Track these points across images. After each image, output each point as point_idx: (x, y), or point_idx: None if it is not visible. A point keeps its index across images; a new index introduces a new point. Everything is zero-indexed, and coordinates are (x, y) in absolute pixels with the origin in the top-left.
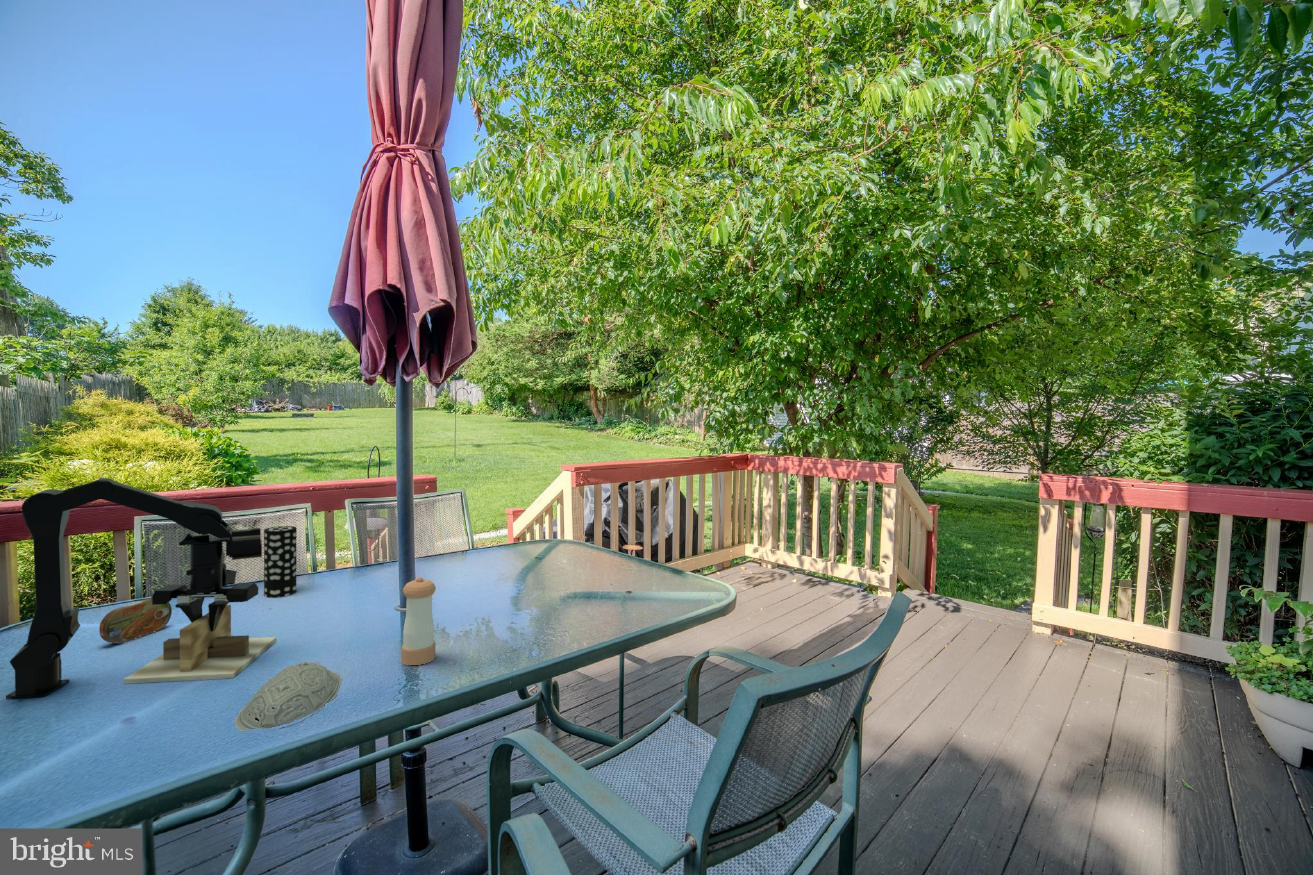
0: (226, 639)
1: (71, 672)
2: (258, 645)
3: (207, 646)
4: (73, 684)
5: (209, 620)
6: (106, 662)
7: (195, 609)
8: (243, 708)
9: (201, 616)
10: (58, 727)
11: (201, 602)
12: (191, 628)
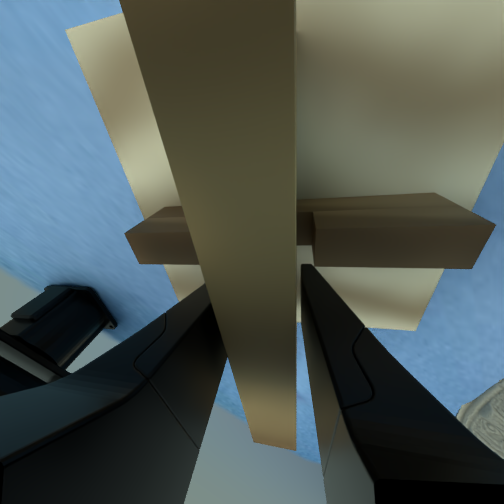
0: (374, 266)
1: (41, 248)
2: (474, 95)
3: (296, 261)
4: (107, 294)
5: (309, 371)
6: (38, 202)
7: (178, 446)
8: (461, 413)
9: (208, 321)
10: (221, 386)
11: (96, 459)
12: (292, 445)
